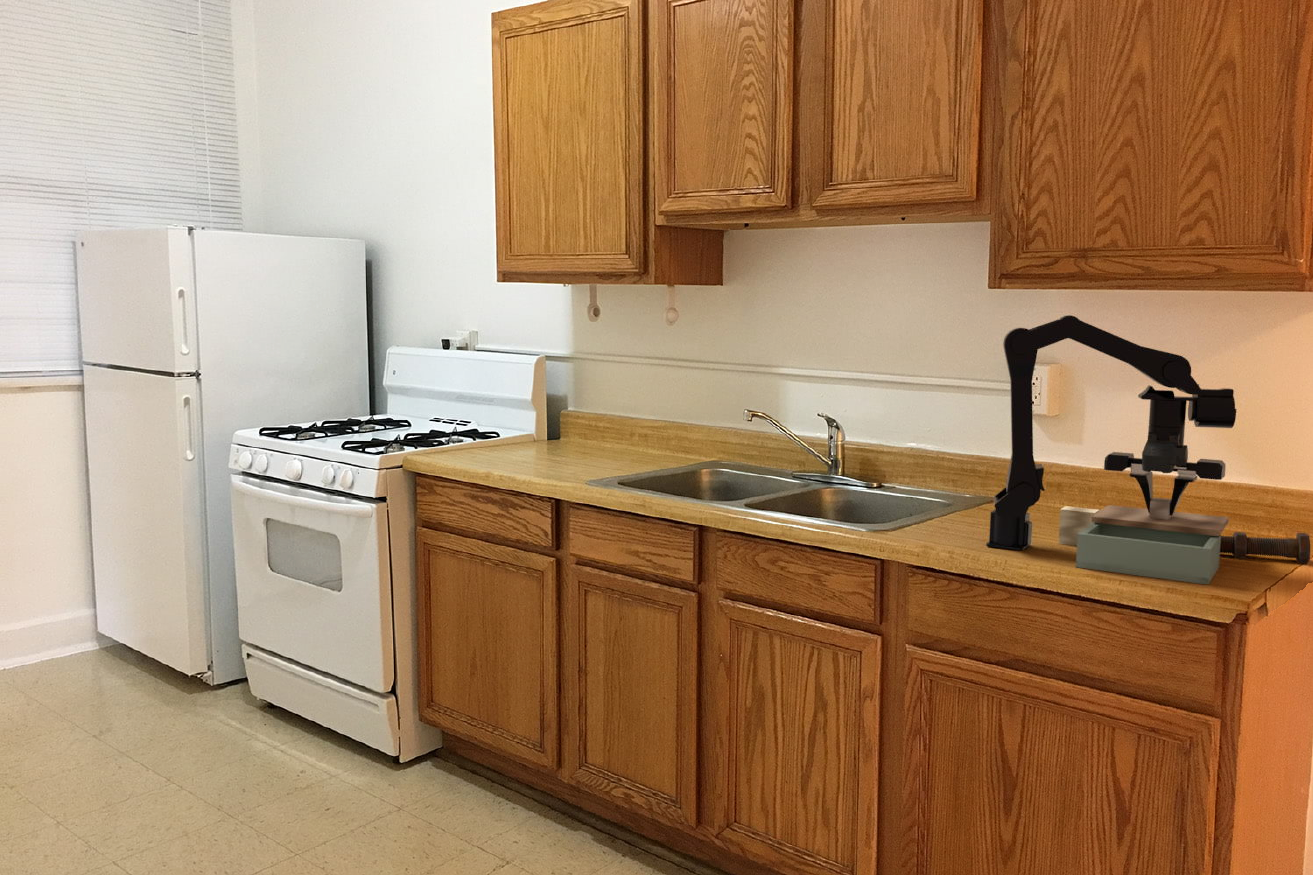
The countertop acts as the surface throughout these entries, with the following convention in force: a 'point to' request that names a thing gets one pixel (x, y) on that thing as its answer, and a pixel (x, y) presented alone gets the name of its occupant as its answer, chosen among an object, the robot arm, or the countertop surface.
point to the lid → (1161, 518)
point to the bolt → (1267, 546)
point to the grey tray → (1149, 552)
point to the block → (1074, 523)
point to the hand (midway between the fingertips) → (1160, 514)
